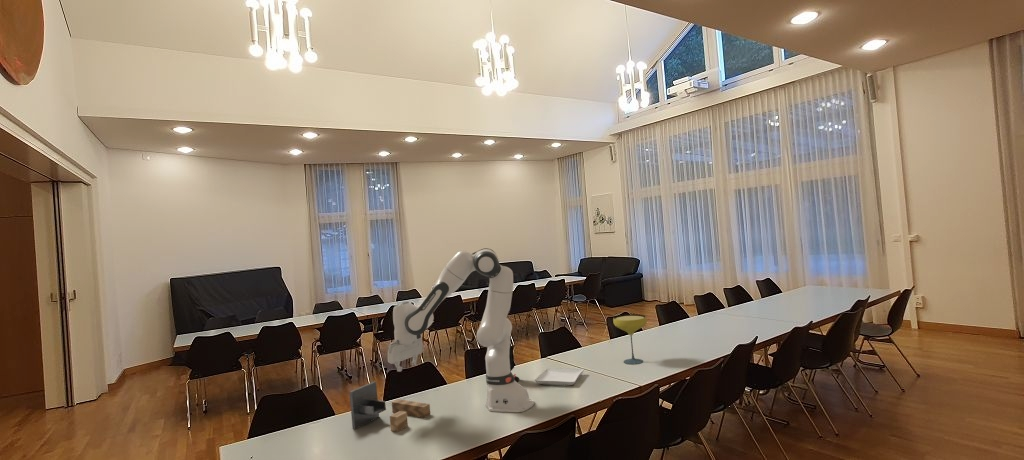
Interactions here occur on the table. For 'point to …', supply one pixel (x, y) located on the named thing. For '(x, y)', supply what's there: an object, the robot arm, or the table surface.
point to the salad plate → (559, 376)
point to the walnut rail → (411, 408)
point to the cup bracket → (365, 404)
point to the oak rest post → (398, 421)
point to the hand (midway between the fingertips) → (407, 368)
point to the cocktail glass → (630, 329)
